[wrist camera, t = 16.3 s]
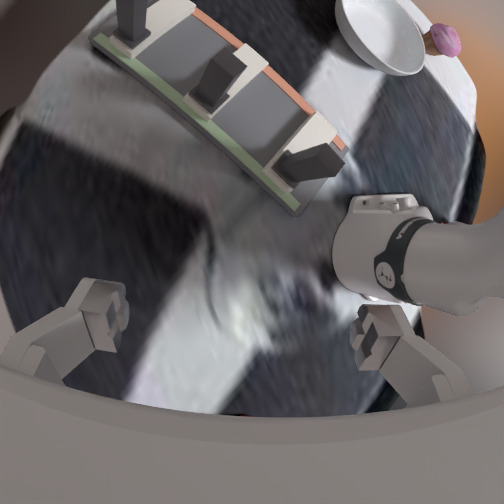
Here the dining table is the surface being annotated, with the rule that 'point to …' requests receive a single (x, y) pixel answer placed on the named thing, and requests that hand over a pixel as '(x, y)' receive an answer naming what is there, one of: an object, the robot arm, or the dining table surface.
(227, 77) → the block
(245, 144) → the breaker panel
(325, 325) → the dining table surface
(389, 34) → the serving bowl
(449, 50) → the cupcake
